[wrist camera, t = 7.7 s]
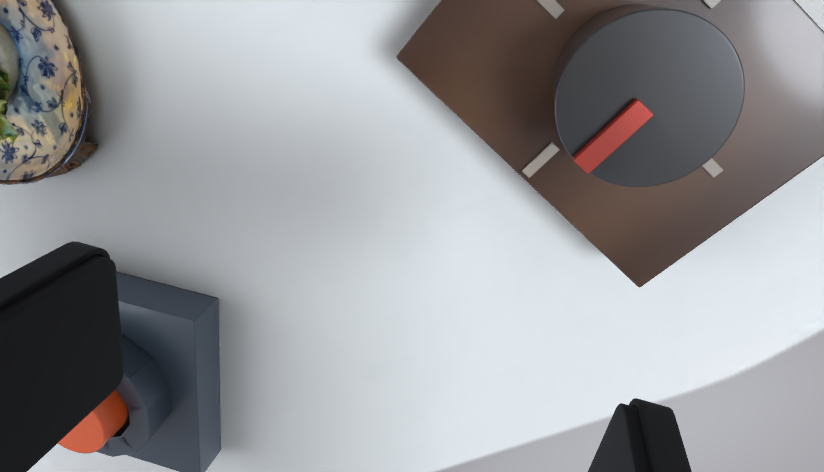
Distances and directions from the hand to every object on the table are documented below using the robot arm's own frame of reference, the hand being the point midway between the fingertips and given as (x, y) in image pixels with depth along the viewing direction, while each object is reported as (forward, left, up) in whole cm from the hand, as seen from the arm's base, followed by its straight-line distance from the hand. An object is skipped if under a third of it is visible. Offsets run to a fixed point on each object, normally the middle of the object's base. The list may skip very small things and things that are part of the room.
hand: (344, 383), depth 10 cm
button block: (-15, +16, -14) cm, 26 cm away
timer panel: (+5, -5, -14) cm, 16 cm away
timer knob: (+5, -5, -11) cm, 13 cm away
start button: (-15, +16, -11) cm, 25 cm away
